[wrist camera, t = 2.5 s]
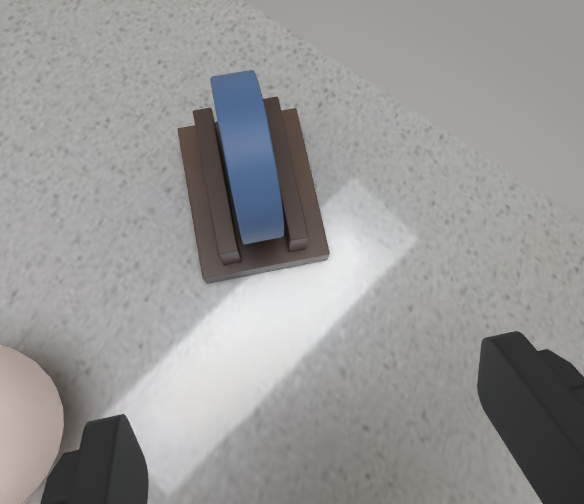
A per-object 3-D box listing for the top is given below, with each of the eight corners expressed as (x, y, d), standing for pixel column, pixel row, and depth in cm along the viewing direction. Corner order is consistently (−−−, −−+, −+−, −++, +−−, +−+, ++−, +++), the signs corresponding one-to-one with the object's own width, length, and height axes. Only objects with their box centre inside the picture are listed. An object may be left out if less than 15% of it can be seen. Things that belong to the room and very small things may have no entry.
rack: (295, 120, 31) (298, 83, 27) (327, 260, 29) (334, 242, 25) (182, 139, 31) (168, 105, 27) (206, 283, 29) (195, 269, 25)
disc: (255, 122, 29) (248, 31, 22) (283, 253, 28) (285, 205, 20) (221, 128, 29) (202, 38, 22) (247, 261, 27) (235, 215, 20)
